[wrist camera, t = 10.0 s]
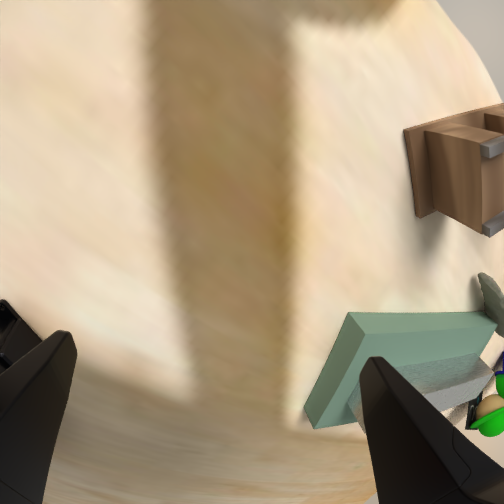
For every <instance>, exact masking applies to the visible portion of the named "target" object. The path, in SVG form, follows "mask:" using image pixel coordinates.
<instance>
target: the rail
mask: <svg viewBox="0 0 504 504" xmlns="http://www.w3.org/2000/svg"><path fill="white" fill-rule="evenodd" d="M394 368H395V369H396V370H397V371H398V372H399V373H400V374H401V375H402V376H403V377H404V378H405V379H406V380H407V381H408V382H409V383H410V384H411V385H413V386H414V387H415V388H416V389H417V390H418V391H419V392H420V393H421V394H422V395H423V396H424V397H425V398H426V399H427V400H428V401H429V402H430V403H431V404H432V405H433V406H434V407H435V408H436V409H437V410H438V411H439V412H441V411H444V410H447V409H449V408H452V407H455V406H457V405H460V404H462V403H465V402H468V401H470V400H472V399H475V398H477V396H478V395H479V394H480V392H481V391H482V390H483V388H484V387H485V385H486V384H487V383H488V381H489V380H490V378H491V377H492V375H493V374H494V372H493V371H492V370H491V369H490V368H489V367H488V366H487V365H486V364H485V362H484V361H483V360H482V359H481V358H480V357H479V356H478V355H477V354H476V353H472V354H467V355H462V356H457V357H452V358H447V359H442V360H436V361H431V362H425V363H418V364H412V365H405V366H398V367H394ZM347 403H348V405H349V407H350V409H351V410H352V412H353V414H354V416H355V417H356V419H357V421H358V423H359V424H360V426H361V428H362V430H363V431H364V433H366V431H365V426H364V420H363V411H362V402H361V392H360V383H359V381H358V383H357V385H356V386H355V388H354V390H353V391H352V393H351V395H350V396H349V398H348V400H347Z"/></svg>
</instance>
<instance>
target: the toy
mask: <svg viewBox="0 0 504 504" xmlns="http://www.w3.org/2000/svg"><path fill="white" fill-rule="evenodd" d="M495 376H496V389H497V392H498V394H499V395H498V394H493V395H489V396H487V397H485V398H484V399H483V400H482V393H483V391H481V392H480V394H479V395H478V396H477V398H475V399H472V400H470V401H469V406H468V413H467V420H466V427H465V429H467V430H477V429H479V431H480V433H481V434H482V435H484V436H487V437H493V436H497V435H499V434H500V433H502V432H503V431H504V352H503V371H497V372H495Z"/></svg>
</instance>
